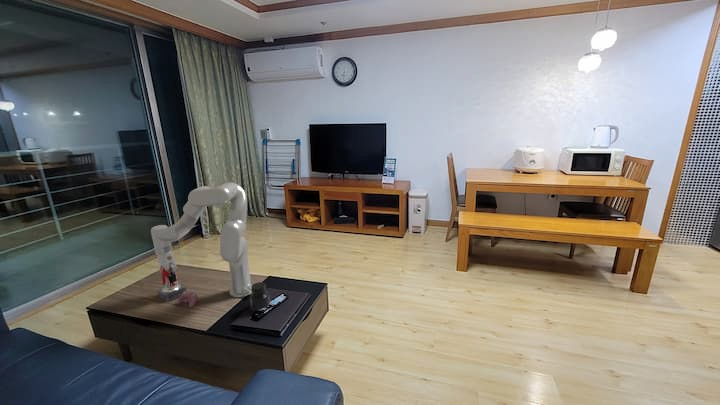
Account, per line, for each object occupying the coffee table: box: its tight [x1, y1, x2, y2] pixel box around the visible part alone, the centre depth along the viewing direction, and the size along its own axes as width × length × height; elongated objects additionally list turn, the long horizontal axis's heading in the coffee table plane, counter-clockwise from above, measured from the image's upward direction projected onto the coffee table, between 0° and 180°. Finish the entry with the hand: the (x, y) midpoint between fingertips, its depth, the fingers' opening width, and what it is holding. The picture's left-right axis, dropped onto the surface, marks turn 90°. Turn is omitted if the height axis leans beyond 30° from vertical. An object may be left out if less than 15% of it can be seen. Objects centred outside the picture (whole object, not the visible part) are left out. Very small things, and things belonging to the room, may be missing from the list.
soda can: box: [159, 267, 179, 288], centre depth 160 cm, size 7×7×12 cm
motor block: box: [156, 282, 187, 303], centre depth 163 cm, size 15×10×4 cm
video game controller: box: [176, 291, 199, 308], centre depth 154 cm, size 10×5×7 cm, turn 72°
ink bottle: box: [249, 281, 271, 312], centre depth 148 cm, size 10×9×12 cm
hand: (169, 279), depth 160 cm, fingers closed on soda can, 7 cm apart
